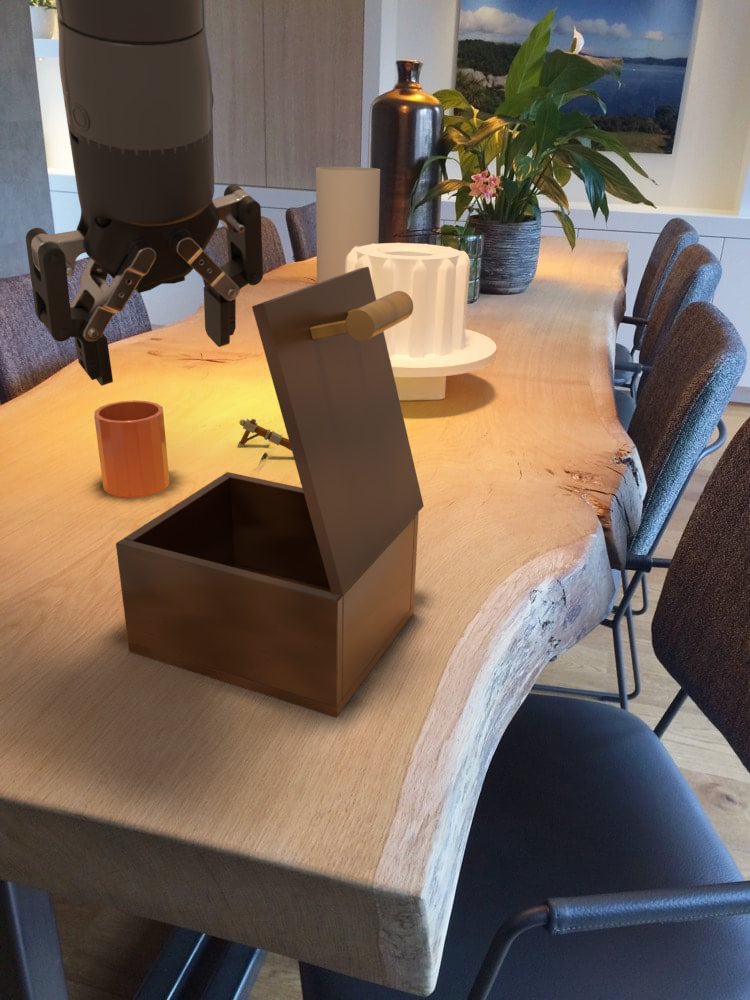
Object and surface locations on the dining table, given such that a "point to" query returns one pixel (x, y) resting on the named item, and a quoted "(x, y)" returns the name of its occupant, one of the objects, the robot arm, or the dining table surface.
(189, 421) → the dining table surface
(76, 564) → the dining table surface
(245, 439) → the toy mortar
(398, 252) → the flanged gear
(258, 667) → the chest
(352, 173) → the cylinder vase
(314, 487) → the lid
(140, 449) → the cup
